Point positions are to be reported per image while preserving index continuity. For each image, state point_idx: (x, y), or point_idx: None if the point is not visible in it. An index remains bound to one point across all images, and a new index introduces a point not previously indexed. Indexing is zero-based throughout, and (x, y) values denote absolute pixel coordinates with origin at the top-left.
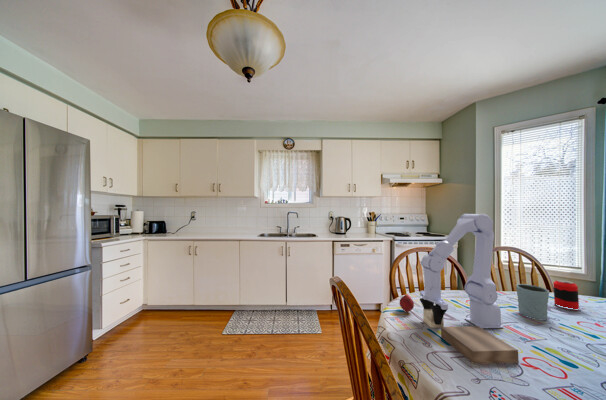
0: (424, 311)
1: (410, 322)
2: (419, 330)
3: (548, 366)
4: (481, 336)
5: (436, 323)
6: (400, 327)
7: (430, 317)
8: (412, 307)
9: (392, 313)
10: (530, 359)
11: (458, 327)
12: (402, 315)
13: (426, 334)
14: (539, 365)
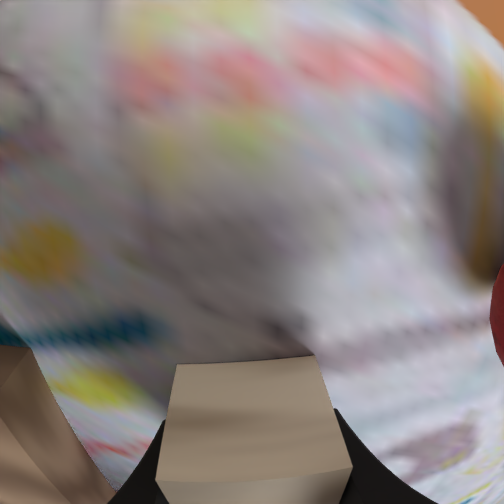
0: (316, 452)
1: (298, 193)
2: (96, 212)
3: None
4: (2, 490)
5: (161, 431)
6: (160, 7)
7: (172, 443)
8: (498, 348)
9: (500, 101)
10: None
11: (49, 488)
12: (464, 187)
13: (34, 248)
14: None
